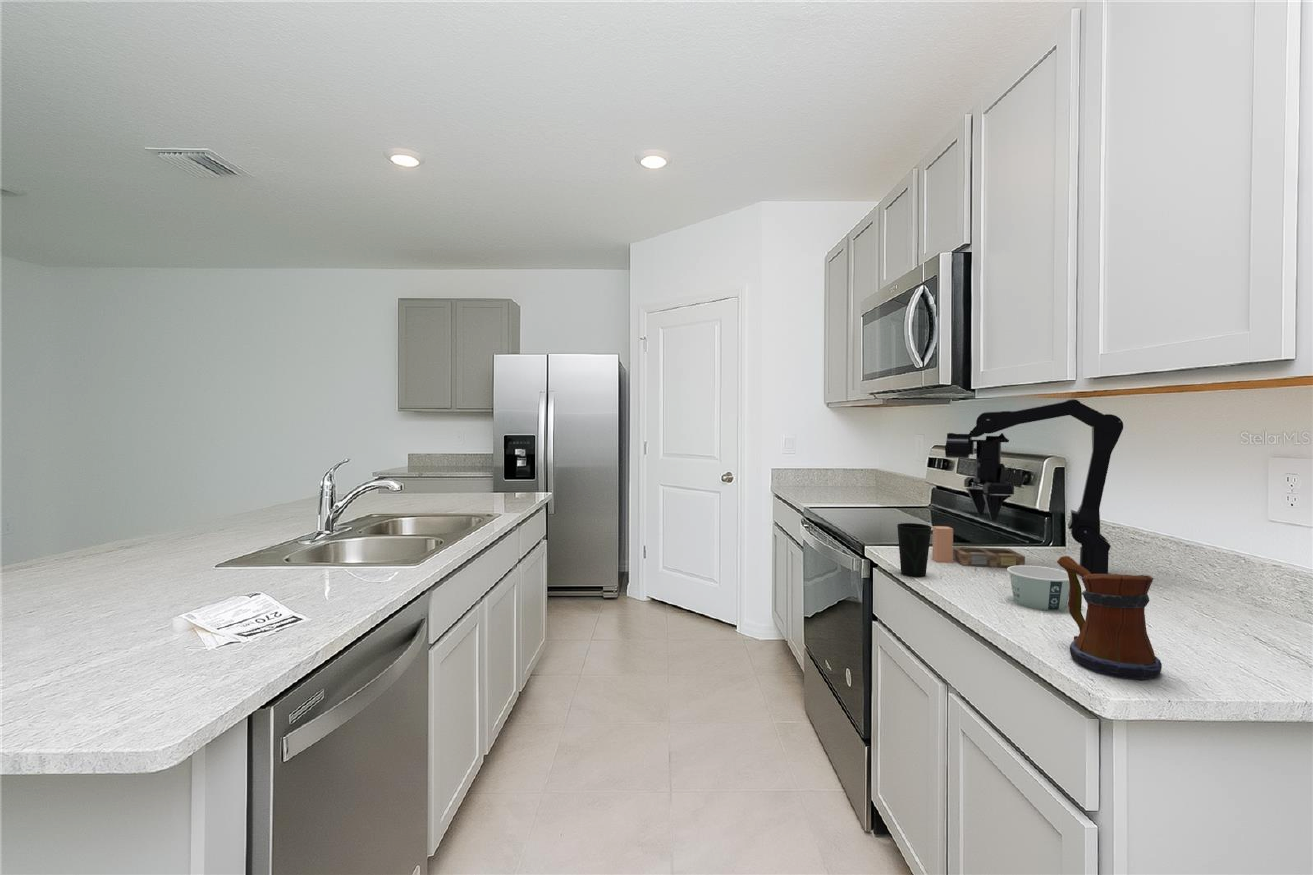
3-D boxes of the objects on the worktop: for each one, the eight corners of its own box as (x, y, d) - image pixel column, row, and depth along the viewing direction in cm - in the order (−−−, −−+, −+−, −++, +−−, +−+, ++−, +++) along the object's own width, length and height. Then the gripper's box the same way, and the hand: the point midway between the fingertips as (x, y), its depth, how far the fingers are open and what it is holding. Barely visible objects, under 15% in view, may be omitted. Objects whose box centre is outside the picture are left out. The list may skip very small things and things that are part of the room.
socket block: (1025, 568, 155) (1025, 556, 155) (962, 565, 158) (962, 553, 158) (1008, 559, 166) (1009, 547, 165) (950, 557, 168) (950, 545, 168)
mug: (1028, 637, 106) (1030, 551, 105) (1094, 637, 106) (1096, 552, 105) (1103, 681, 88) (1106, 578, 87) (1183, 682, 88) (1186, 579, 87)
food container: (996, 594, 132) (996, 564, 132) (1054, 596, 131) (1055, 566, 131) (1023, 611, 120) (1024, 578, 120) (1088, 613, 119) (1088, 580, 119)
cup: (889, 572, 151) (890, 524, 150) (912, 569, 154) (913, 522, 153) (913, 579, 144) (914, 529, 143) (937, 576, 147) (938, 527, 146)
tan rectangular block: (952, 562, 161) (953, 529, 161) (936, 562, 162) (937, 528, 162) (947, 559, 165) (948, 526, 165) (932, 558, 166) (932, 526, 166)
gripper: (1037, 462, 151) (1035, 524, 151) (1006, 457, 169) (1005, 513, 169) (989, 461, 152) (987, 523, 153) (964, 456, 171) (962, 512, 171)
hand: (987, 517), depth 161 cm, fingers open, 9 cm apart
